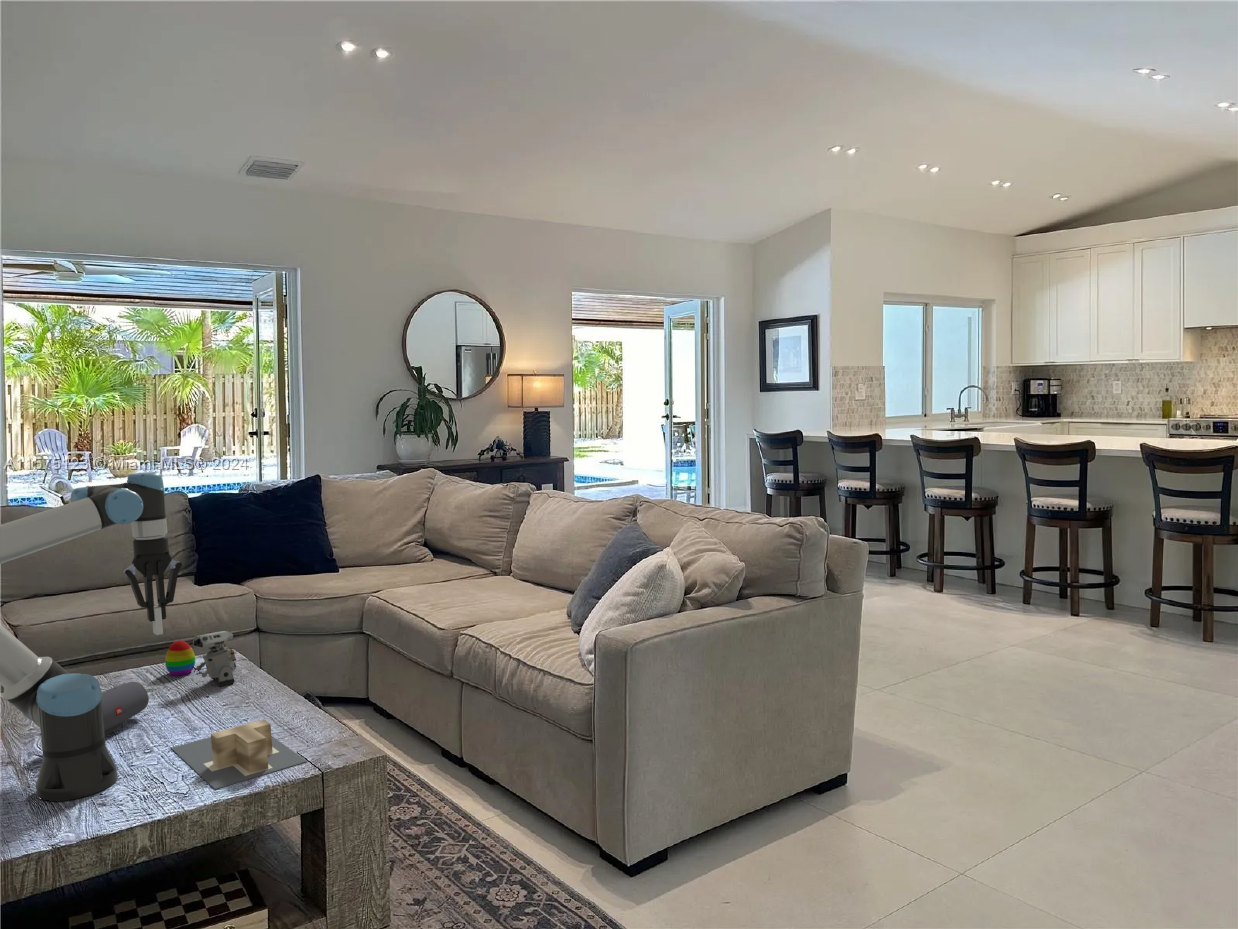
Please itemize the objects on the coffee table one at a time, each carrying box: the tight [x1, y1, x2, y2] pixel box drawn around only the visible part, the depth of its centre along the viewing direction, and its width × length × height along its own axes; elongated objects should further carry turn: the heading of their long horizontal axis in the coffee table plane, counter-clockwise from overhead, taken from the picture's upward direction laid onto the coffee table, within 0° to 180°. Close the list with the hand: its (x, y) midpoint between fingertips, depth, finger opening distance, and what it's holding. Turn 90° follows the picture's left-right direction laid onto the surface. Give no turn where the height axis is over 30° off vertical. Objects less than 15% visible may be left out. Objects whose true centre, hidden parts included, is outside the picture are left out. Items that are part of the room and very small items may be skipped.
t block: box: [210, 719, 273, 774], centre depth 208 cm, size 12×12×7 cm
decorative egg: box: [164, 639, 196, 677], centre depth 279 cm, size 8×8×10 cm
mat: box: [170, 735, 308, 791], centre depth 214 cm, size 20×32×1 cm, turn 41°
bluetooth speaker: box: [101, 681, 150, 736], centre depth 231 cm, size 23×9×10 cm, turn 168°
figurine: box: [192, 630, 237, 687], centre depth 267 cm, size 9×12×15 cm
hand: (158, 633), depth 223 cm, fingers closed
